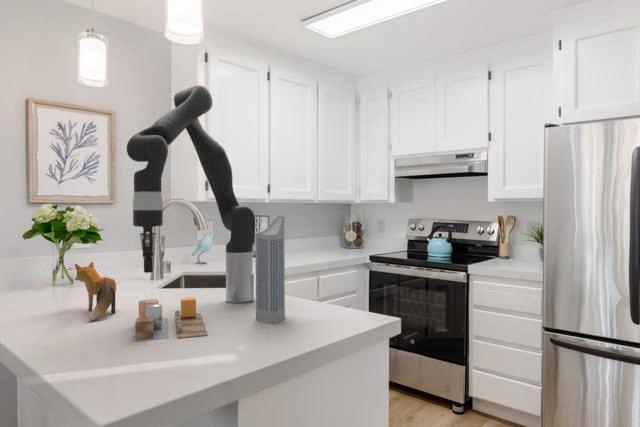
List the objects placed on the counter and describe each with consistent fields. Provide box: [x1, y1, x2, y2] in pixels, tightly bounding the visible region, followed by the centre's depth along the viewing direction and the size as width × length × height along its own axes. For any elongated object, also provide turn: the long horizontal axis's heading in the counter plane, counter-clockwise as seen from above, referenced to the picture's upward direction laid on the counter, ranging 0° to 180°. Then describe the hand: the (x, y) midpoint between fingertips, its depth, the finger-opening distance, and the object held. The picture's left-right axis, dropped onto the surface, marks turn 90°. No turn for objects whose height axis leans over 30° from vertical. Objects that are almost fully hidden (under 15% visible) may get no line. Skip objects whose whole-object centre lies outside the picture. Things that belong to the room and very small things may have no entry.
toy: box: [74, 261, 117, 321], centre depth 133 cm, size 11×29×15 cm, turn 43°
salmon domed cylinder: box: [138, 298, 159, 318], centre depth 118 cm, size 5×5×6 cm
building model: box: [254, 215, 286, 325], centre depth 126 cm, size 8×8×30 cm
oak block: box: [134, 317, 154, 339], centre depth 106 cm, size 4×4×4 cm
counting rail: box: [174, 310, 209, 339], centre depth 116 cm, size 23×7×3 cm, turn 20°
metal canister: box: [146, 303, 163, 330], centre depth 113 cm, size 4×4×6 cm
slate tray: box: [132, 317, 170, 343], centre depth 113 cm, size 8×21×1 cm, turn 20°
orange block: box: [180, 296, 197, 318], centre depth 124 cm, size 4×4×5 cm
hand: (148, 272), depth 119 cm, fingers closed
